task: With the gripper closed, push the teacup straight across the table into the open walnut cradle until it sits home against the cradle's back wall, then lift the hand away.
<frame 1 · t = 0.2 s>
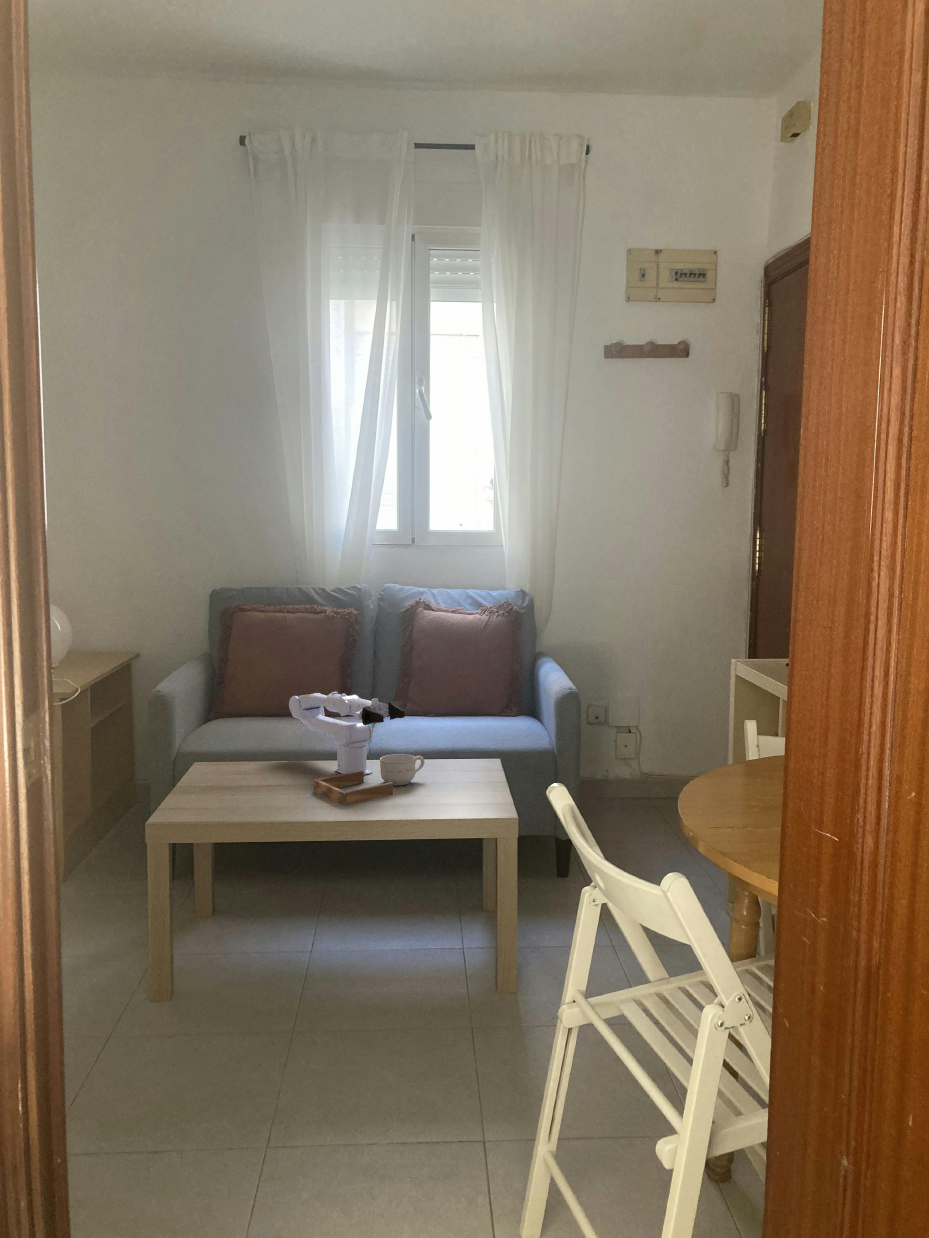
hand: (393, 716, 276), 21 cm above the table, tool horizontal, fingers open, 7 cm apart
cradle: (355, 792, 273), on the table
teacup: (402, 783, 284), on the table
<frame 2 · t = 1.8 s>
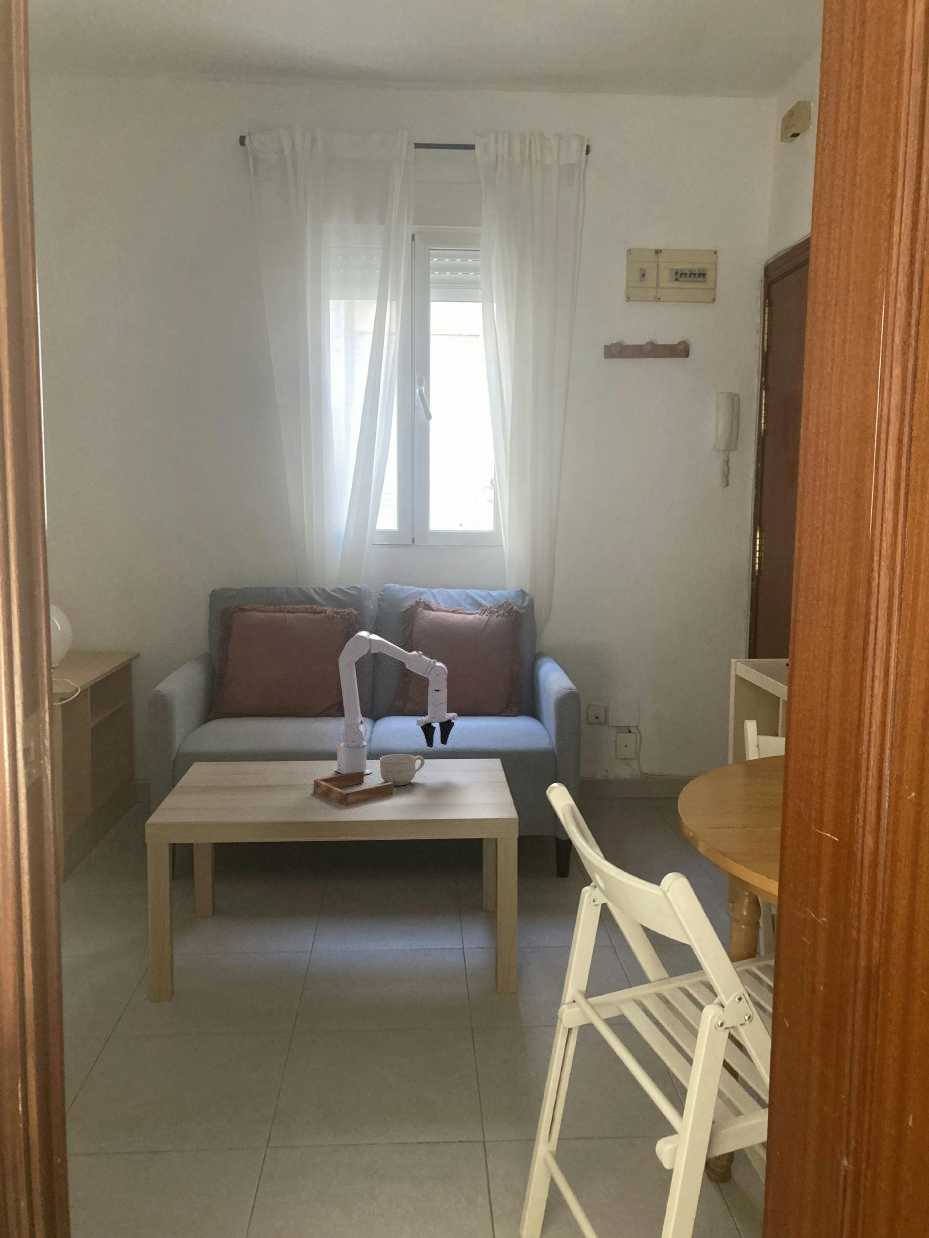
hand: (436, 745, 291), 9 cm above the table, tool pointing down, fingers open, 5 cm apart
nothing on the table moved.
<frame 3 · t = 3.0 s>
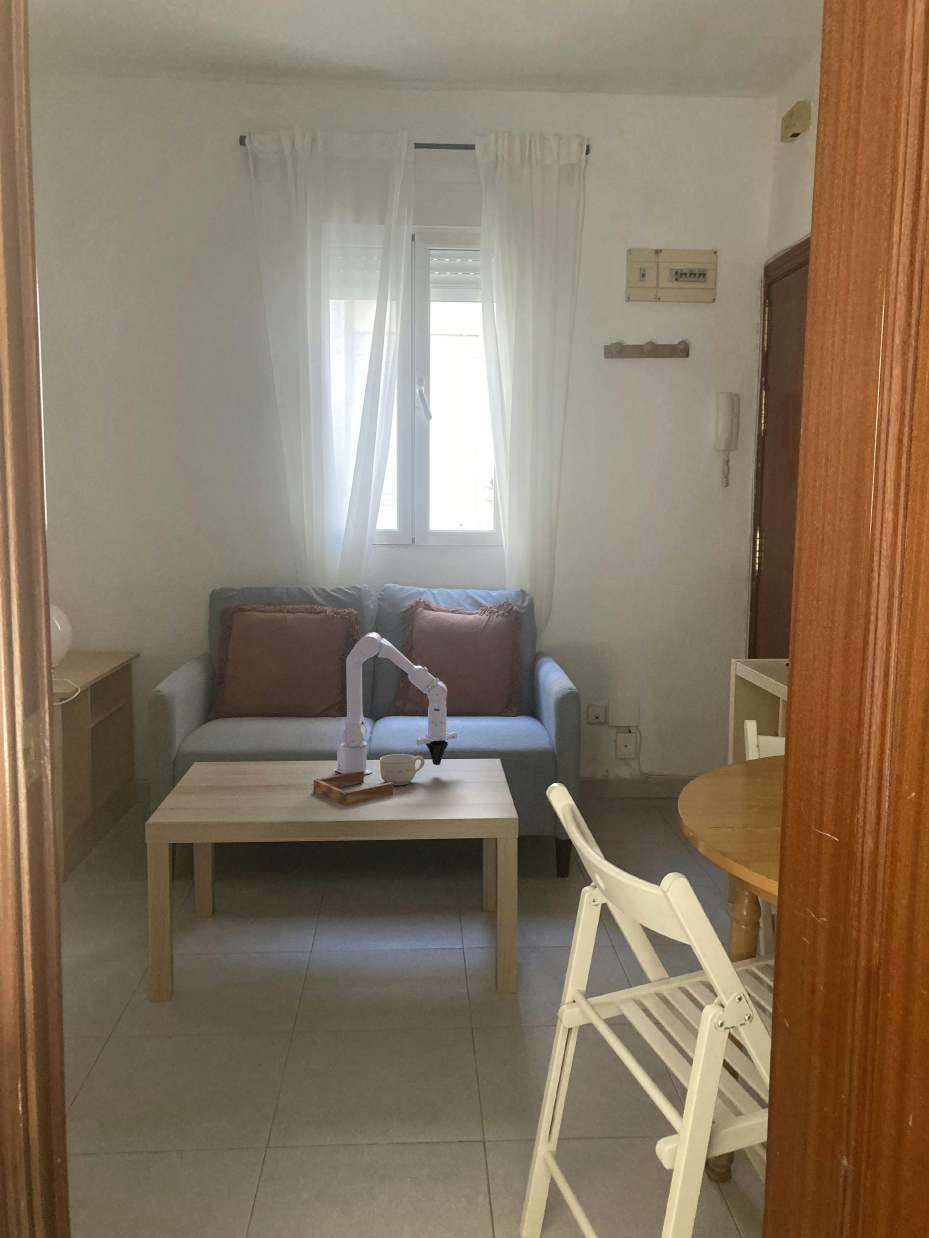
hand: (436, 764, 292), 3 cm above the table, tool pointing down, fingers closed
nothing on the table moved.
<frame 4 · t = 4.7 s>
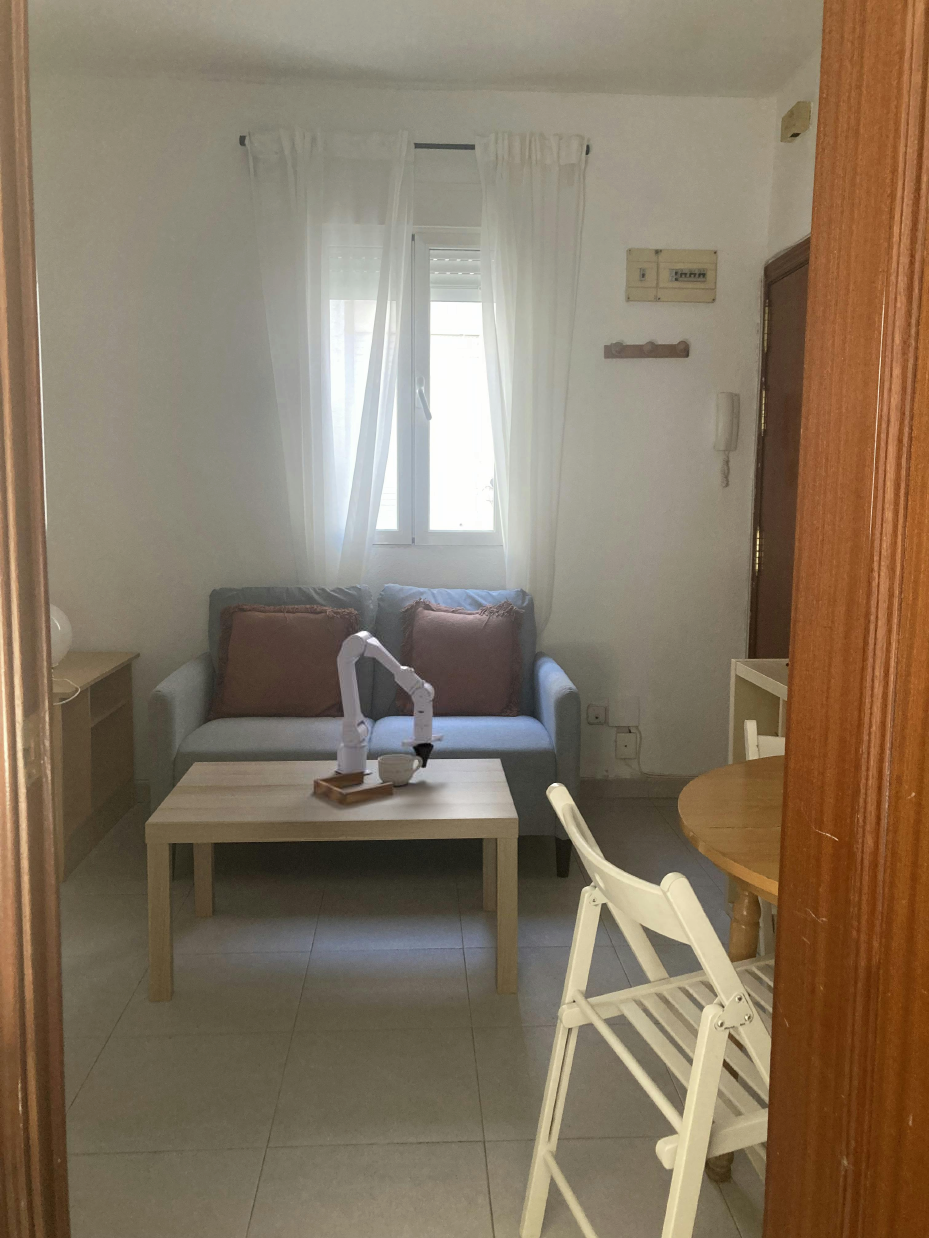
hand: (422, 767, 288), 3 cm above the table, tool pointing down, fingers closed
teacup: (400, 783, 283), on the table, touching gripper
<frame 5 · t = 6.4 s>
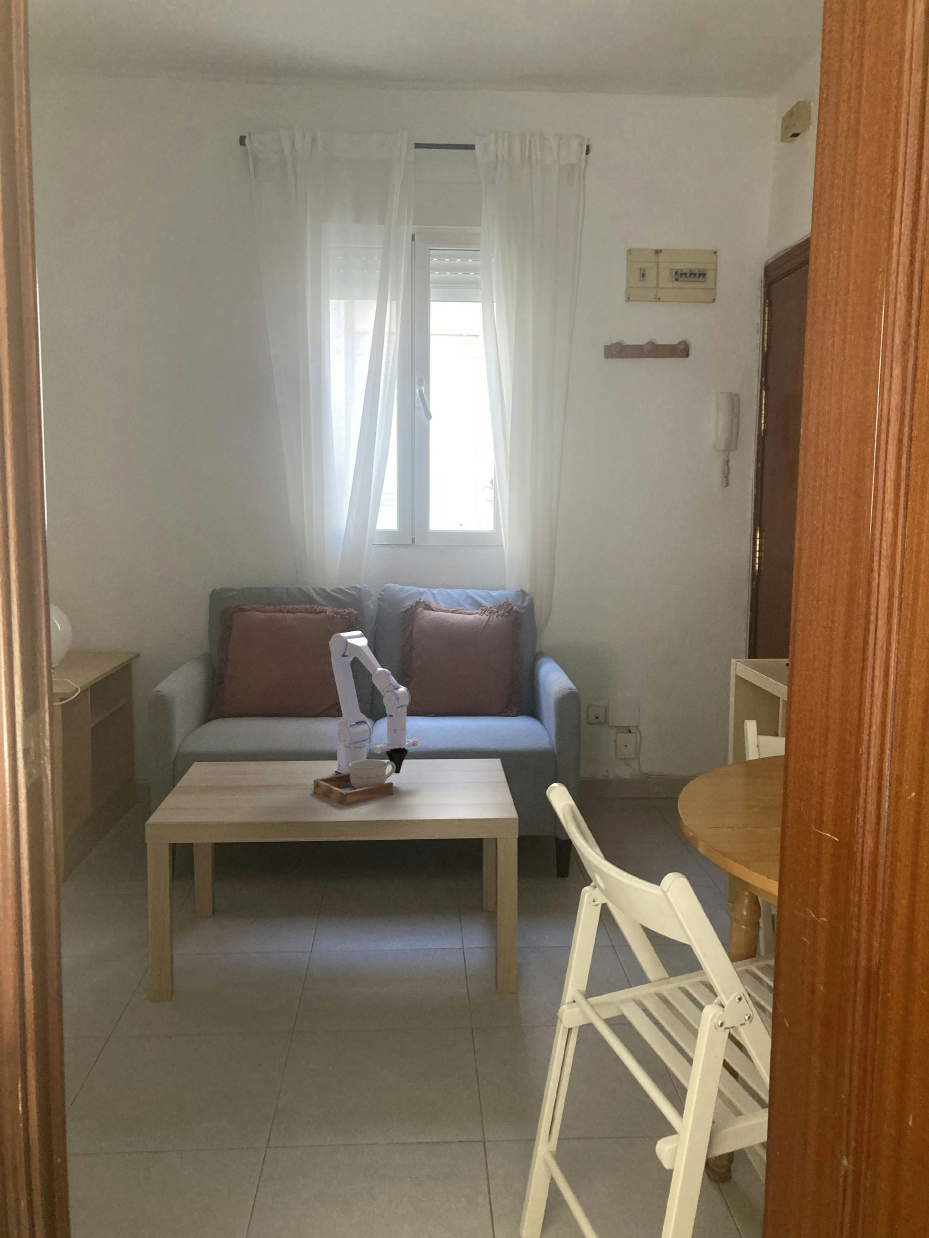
hand: (396, 772, 282), 3 cm above the table, tool pointing down, fingers closed
teacup: (372, 789, 277), on the table, touching gripper
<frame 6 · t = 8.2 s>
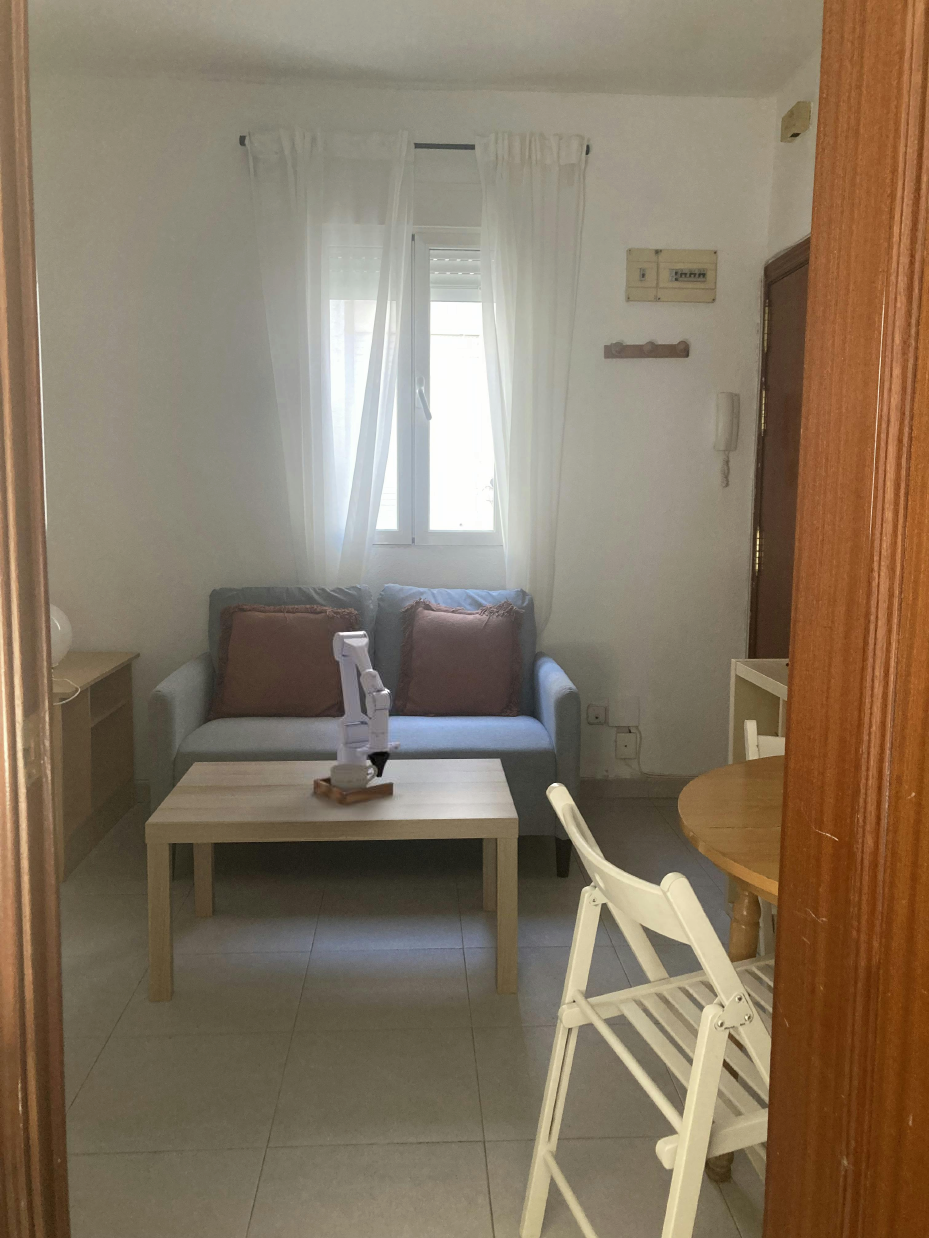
hand: (378, 776, 278), 3 cm above the table, tool pointing down, fingers closed
teacup: (354, 793, 273), on the table, touching gripper
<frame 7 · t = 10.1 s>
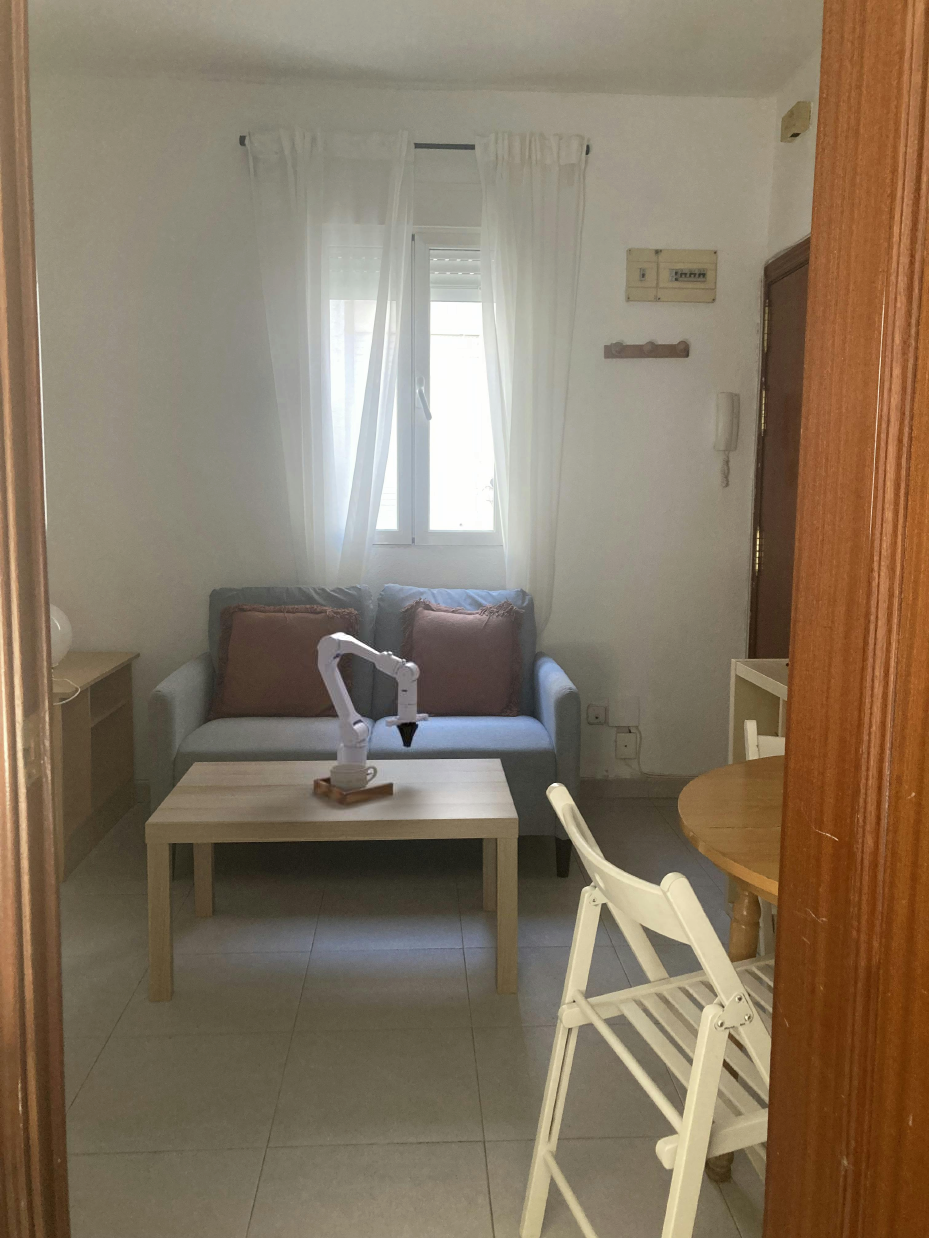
hand: (407, 746, 287), 10 cm above the table, tool pointing down, fingers closed
teacup: (353, 793, 273), on the table
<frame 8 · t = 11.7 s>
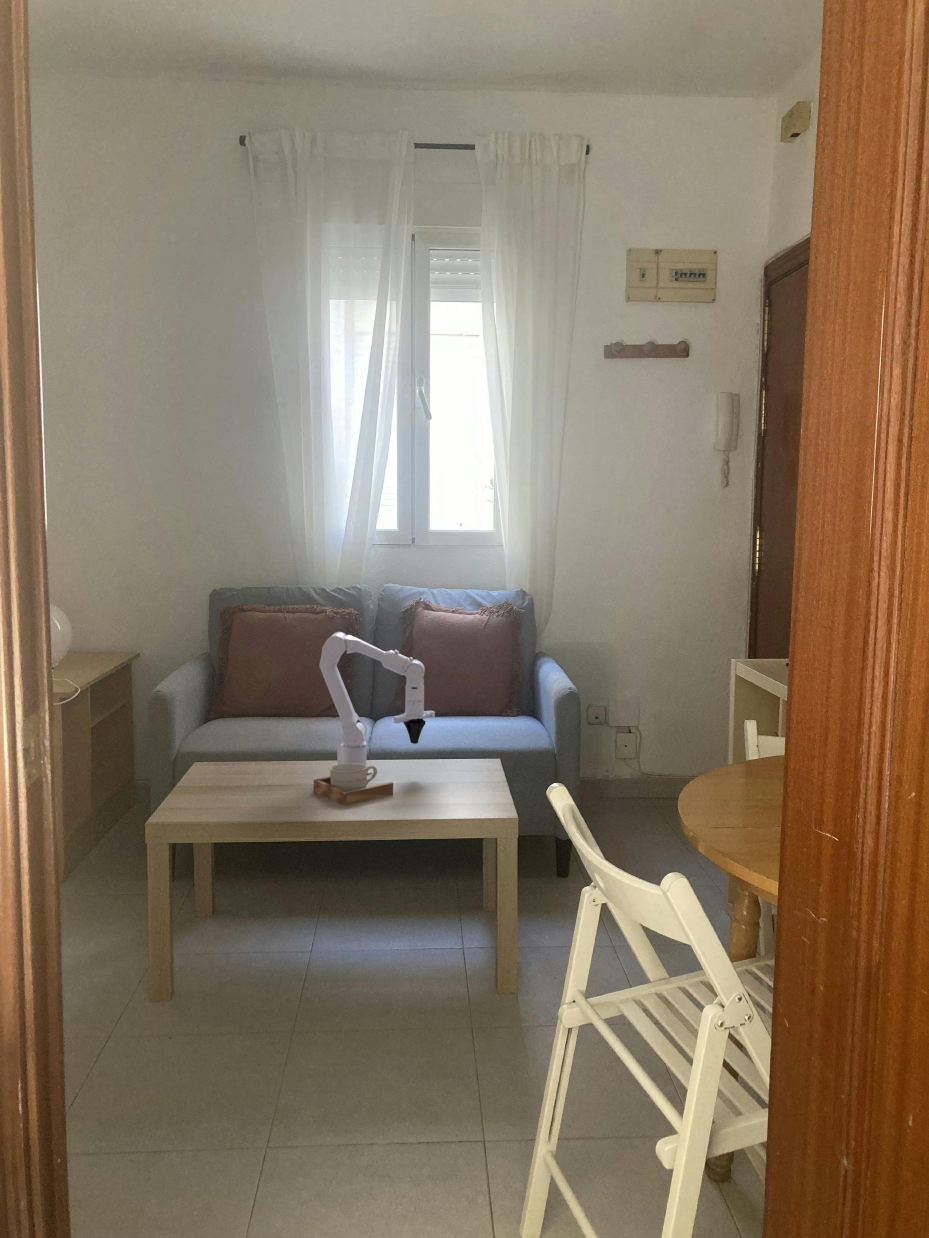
hand: (414, 742, 292), 10 cm above the table, tool pointing down, fingers closed
nothing on the table moved.
at the end: teacup inside the target area (0.3 cm from its centre), on the table; teacup tilted 0°; teacup moved 17.3 cm from its start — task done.
